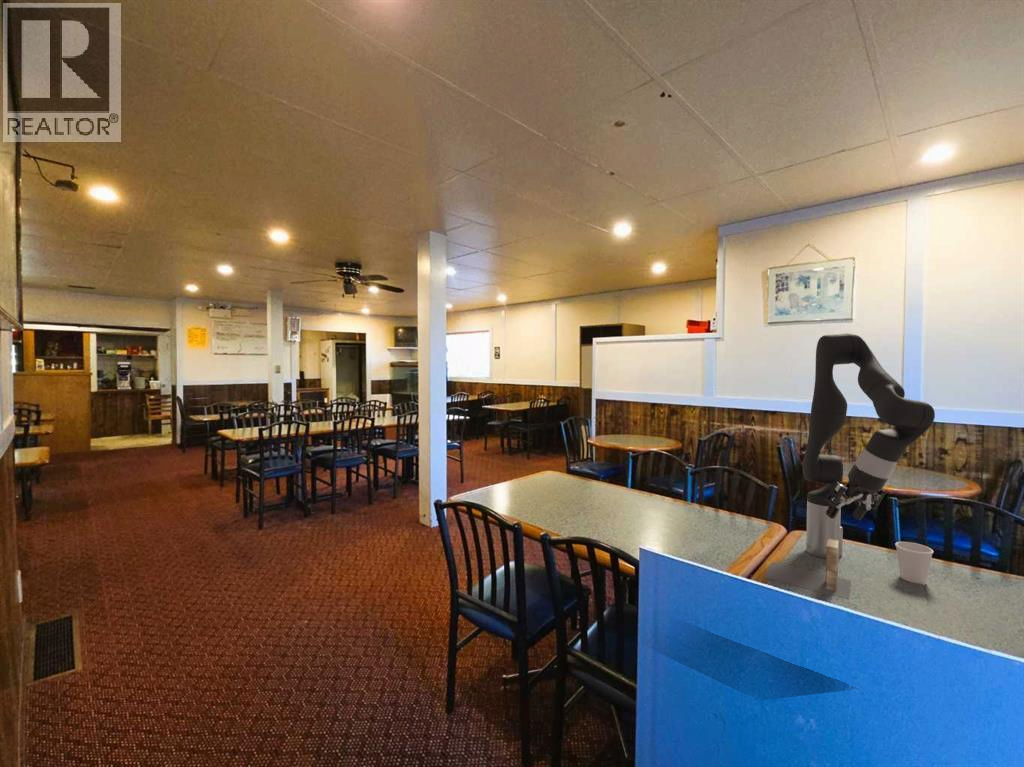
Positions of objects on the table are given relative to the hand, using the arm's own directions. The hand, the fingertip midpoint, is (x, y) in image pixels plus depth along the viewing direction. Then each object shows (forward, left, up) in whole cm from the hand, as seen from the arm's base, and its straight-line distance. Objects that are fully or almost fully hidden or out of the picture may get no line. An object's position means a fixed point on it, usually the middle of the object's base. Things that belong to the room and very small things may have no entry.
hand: (842, 517), depth 121 cm
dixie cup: (-28, -4, -22) cm, 36 cm away
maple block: (-1, -4, -21) cm, 21 cm away
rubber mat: (+3, -9, -21) cm, 23 cm away
